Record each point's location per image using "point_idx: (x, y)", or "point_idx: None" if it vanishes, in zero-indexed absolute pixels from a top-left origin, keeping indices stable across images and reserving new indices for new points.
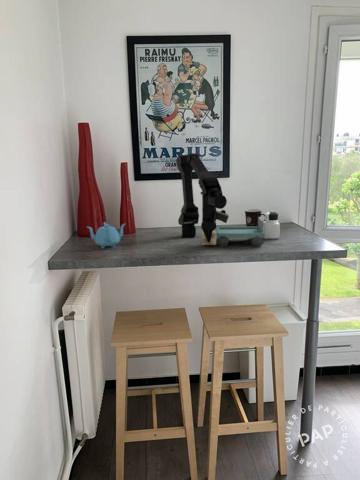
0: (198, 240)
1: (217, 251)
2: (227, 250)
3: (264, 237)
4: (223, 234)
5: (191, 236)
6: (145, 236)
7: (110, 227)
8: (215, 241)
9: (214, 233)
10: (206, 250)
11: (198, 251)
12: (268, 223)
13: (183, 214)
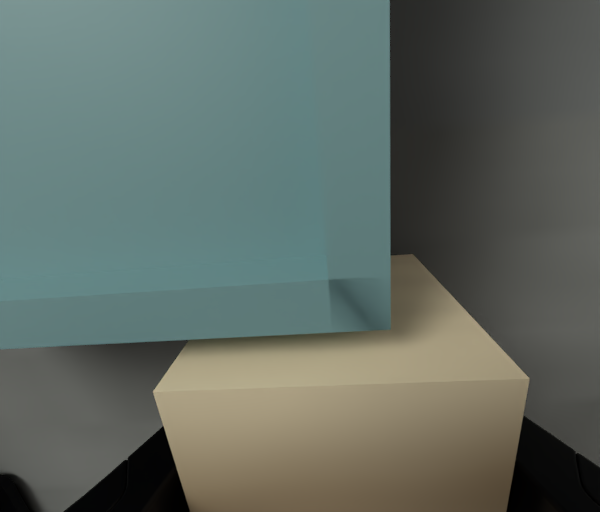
0: (100, 435)
1: (594, 208)
2: (565, 54)
3: None
4: (379, 119)
5: (8, 506)
6: None
7: None
8: (429, 282)
9: (509, 419)
10: (520, 341)
11: (551, 413)
12: None
13: None
